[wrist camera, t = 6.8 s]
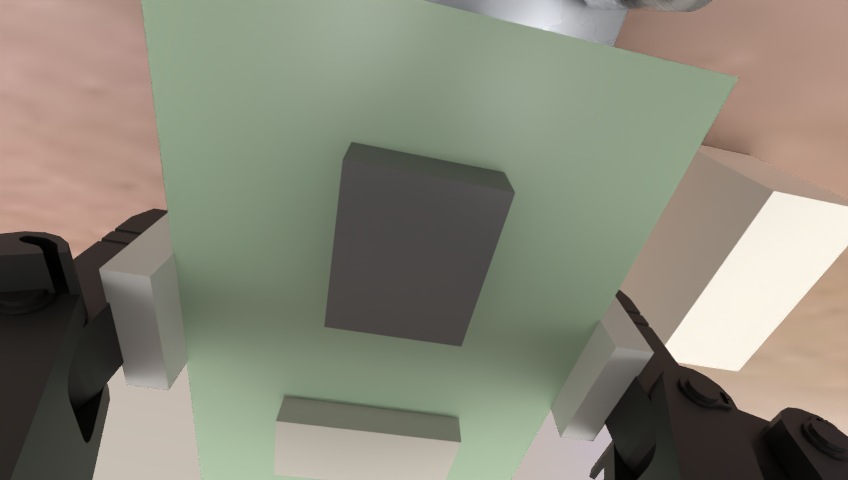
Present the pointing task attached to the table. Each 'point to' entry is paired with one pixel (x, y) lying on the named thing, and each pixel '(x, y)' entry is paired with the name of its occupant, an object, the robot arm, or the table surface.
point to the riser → (733, 256)
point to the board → (400, 224)
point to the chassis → (572, 14)
